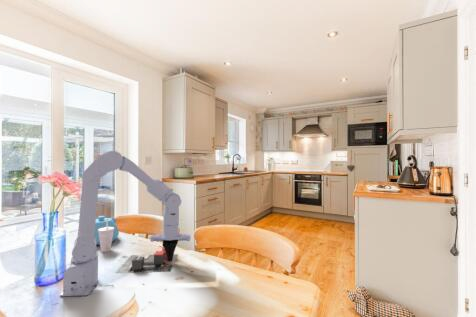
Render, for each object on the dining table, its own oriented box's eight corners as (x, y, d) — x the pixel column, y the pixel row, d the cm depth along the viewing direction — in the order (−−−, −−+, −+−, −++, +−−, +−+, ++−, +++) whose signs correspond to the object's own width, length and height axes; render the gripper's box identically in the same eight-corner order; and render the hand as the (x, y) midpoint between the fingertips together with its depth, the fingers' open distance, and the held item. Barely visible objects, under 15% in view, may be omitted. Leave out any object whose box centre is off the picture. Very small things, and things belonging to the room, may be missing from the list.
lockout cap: (171, 259, 91) (171, 248, 91) (160, 259, 91) (160, 249, 91) (173, 254, 95) (173, 245, 95) (163, 255, 95) (163, 245, 95)
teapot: (98, 250, 102) (98, 222, 102) (61, 247, 106) (61, 219, 106) (128, 236, 121) (128, 212, 121) (95, 234, 125) (96, 210, 125)
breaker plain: (141, 269, 81) (141, 259, 81) (131, 269, 81) (132, 260, 81) (144, 265, 84) (144, 256, 84) (135, 265, 84) (135, 256, 84)
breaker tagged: (162, 263, 85) (162, 254, 85) (153, 264, 85) (154, 254, 85) (164, 260, 88) (164, 251, 88) (156, 260, 88) (156, 251, 88)
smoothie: (117, 248, 105) (117, 217, 105) (107, 253, 99) (108, 221, 99) (103, 247, 106) (104, 217, 106) (93, 252, 99) (94, 220, 99)
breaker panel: (170, 274, 81) (170, 268, 81) (114, 276, 79) (114, 270, 79) (178, 257, 96) (178, 251, 96) (131, 258, 94) (131, 252, 94)
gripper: (191, 221, 92) (191, 255, 92) (154, 221, 91) (154, 255, 90) (189, 225, 85) (188, 262, 84) (149, 226, 84) (148, 263, 83)
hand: (170, 259), depth 87 cm, fingers closed
